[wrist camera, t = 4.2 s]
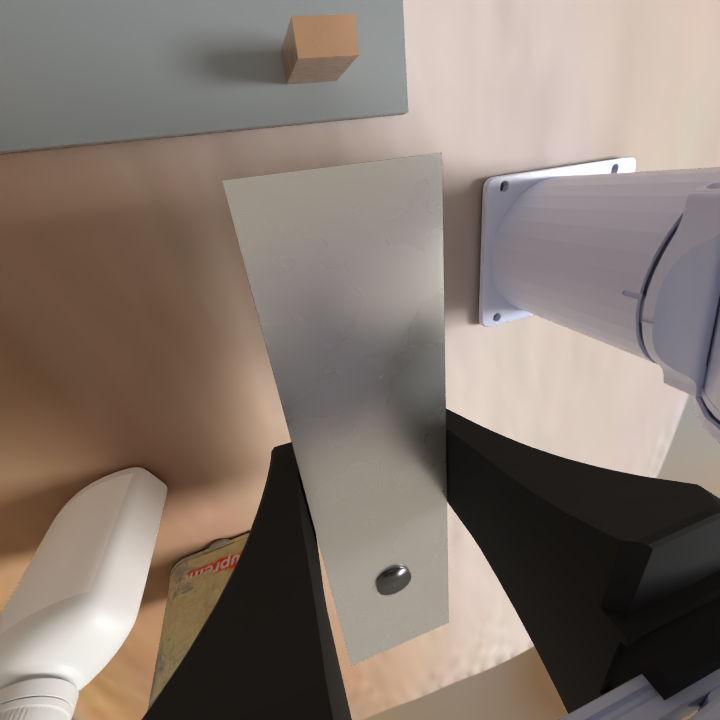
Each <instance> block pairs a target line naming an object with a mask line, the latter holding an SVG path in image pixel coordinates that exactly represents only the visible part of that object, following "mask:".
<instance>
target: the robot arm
mask: <svg viewBox="0 0 720 720" xmlns="http://www.w3.org/2000/svg"><path fill="white" fill-rule="evenodd" d="M635 166H636V161H635V159H634V158H633V157H623V158H616V159H610V160H603V161H596V162H589V163H583V164H576V165H569V166H562V167H556V168H549V169H542V170H535V171H529V172H522V173H515V174H508V175H502V176H495V177H491V178H488V179H487V180H486V182H485V183H484V186H483V202H482V233H481V264H480V295H479V322H480V324H481V325H483V326H485V327H490V326H493V325H497V324H501V323H505V322H509V321H513V320H517V319H521V318H525V317H529V316H533V315H537V316H539V317H542V318H544V319H547V320H549V321H552V322H554V323H557V324H559V325H562V326H564V327H567V328H569V329H572V330H574V331H577V332H579V333H582V334H584V335H587V336H589V337H592V338H594V339H597V340H599V341H602V342H604V343H607V344H609V345H612V346H614V347H616V348H619V349H621V350H624V351H626V352H629V353H631V354H634V355H636V356H639V357H641V358H644V359H646V360H649V361H651V362H654V363H656V364H658V365H659V366H661V368H662V370H663V373H664V383H665V384H668V385H670V386H672V387H674V388H677V389H679V390H681V391H683V392H686V393H688V394H690V395H693V396H694V408H695V411H696V414H697V417H698V419H699V421H700V422H701V424H702V425H703V427H704V428H705V429H706V430H707V431H708V432H709V433H710V435H712V437H713V438H715V439H716V440H717V441H718V442H720V167H715V168H698V169H680V170H663V171H645V172H634V171H635ZM611 168H612V171H611ZM502 182H503V183H504V187H503V190H502V191H501V190H500V185H501V183H502ZM495 314H497V315H496V317H495V318H494V319H493V317H494V315H495ZM446 468H447V502H448V503H449V505H450V506H451V507H452V509H453V510H454V512H455V513H456V514H457V516H458V517H459V518H460V520H461V521H462V523H463V524H464V525H465V527H466V528H467V530H468V531H469V532H470V534H471V535H472V537H473V538H474V540H475V541H476V543H477V544H478V546H479V547H480V549H481V551H482V552H483V554H484V556H485V557H486V559H487V561H488V562H489V564H490V566H491V568H492V569H493V571H494V573H495V574H496V576H497V578H498V580H499V581H500V583H501V585H502V587H503V589H504V590H505V592H506V594H507V596H508V598H509V599H510V601H511V603H512V605H513V606H514V608H515V610H516V612H517V614H518V616H519V618H520V619H521V621H522V623H523V625H524V627H525V629H526V631H527V633H528V634H529V636H530V638H531V640H532V642H533V644H534V646H535V648H536V650H537V652H538V653H539V655H540V657H541V659H542V661H543V663H544V665H545V667H546V669H547V671H548V673H549V675H550V677H551V679H552V681H553V683H554V685H555V687H556V689H557V691H558V693H559V695H560V697H561V699H562V701H563V704H564V706H565V707H566V710H567V712H568V715H566V716H564V717H562V718H561V719H559V720H681V719H683V718H684V717H686V716H687V715H689V714H691V713H693V712H694V711H696V710H697V709H698V712H697V713H696V714H695V715H693V716H692V717H691V718H690V719H688V720H720V498H718V497H716V496H714V495H713V494H712V493H710V492H709V491H707V490H705V489H704V488H702V487H701V486H699V485H697V484H690V483H683V482H677V481H670V480H663V479H656V478H650V477H644V476H638V475H633V474H628V473H623V472H618V471H613V470H609V469H605V468H600V467H596V466H592V465H588V464H585V463H581V462H577V461H573V460H570V459H566V458H563V457H559V456H556V455H553V454H550V453H547V452H544V451H541V450H538V449H535V448H532V447H530V446H527V445H524V444H522V443H519V442H517V441H514V440H512V439H509V438H507V437H505V436H502V435H500V434H498V433H495V432H493V431H491V430H489V429H486V428H484V427H482V426H480V425H478V424H476V423H474V422H472V421H470V420H468V419H466V418H464V417H462V416H460V415H458V414H456V413H454V412H452V411H450V410H448V409H446ZM142 720H352V719H351V715H350V710H349V706H348V701H347V697H346V693H345V688H344V684H343V679H342V675H341V670H340V666H339V662H338V657H337V653H336V648H335V644H334V639H333V635H332V630H331V626H330V621H329V617H328V612H327V607H326V602H325V596H324V590H323V582H322V575H321V568H320V560H319V553H318V546H317V538H316V532H315V528H314V524H313V520H312V517H311V513H310V509H309V505H308V502H307V498H306V494H305V490H304V487H303V483H302V479H301V475H300V472H299V468H298V464H297V460H296V457H295V453H294V449H293V445H292V442H291V443H287V444H284V445H280V446H277V447H274V449H273V450H272V453H271V462H270V467H269V472H268V477H267V481H266V485H265V488H264V492H263V495H262V499H261V502H260V505H259V508H258V511H257V514H256V517H255V520H254V522H253V525H252V528H251V531H250V533H249V536H248V538H247V541H246V543H245V546H244V548H243V550H242V552H241V555H240V557H239V559H238V561H237V563H236V566H235V568H234V570H233V572H232V574H231V576H230V578H229V580H228V582H227V584H226V586H225V588H224V590H223V592H222V593H221V595H220V597H219V599H218V601H217V603H216V605H215V606H214V608H213V610H212V612H211V613H210V615H209V617H208V618H207V620H206V622H205V623H204V625H203V627H202V628H201V630H200V632H199V633H198V635H197V637H196V638H195V640H194V642H193V644H192V645H191V647H190V649H189V650H188V652H187V653H186V655H185V656H184V658H183V660H182V661H181V663H180V664H179V666H178V667H177V669H176V670H175V672H174V673H173V675H172V676H171V678H170V679H169V680H168V682H167V683H166V685H165V686H164V688H163V689H162V691H161V692H160V694H159V695H158V697H157V698H156V700H155V701H154V703H153V704H152V706H151V707H150V708H149V710H148V711H147V713H146V714H145V716H144V717H143V719H142Z"/></svg>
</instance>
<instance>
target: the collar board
mask: <svg viewBox="0 0 720 720" xmlns="http://www.w3.org/2000/svg"><path fill="white" fill-rule="evenodd" d="M407 112H408V99H407V79H406V59H405V38H404V18H403V0H0V154H5V153H15V152H25V151H35V150H45V149H56V148H66V147H76V146H86V145H96V144H107V143H117V142H127V141H137V140H147V139H158V138H168V137H178V136H188V135H198V134H209V133H219V132H229V131H239V130H249V129H259V128H270V127H280V126H290V125H300V124H310V123H321V122H331V121H341V120H351V119H361V118H372V117H382V116H392V115H402V114H405V113H407Z"/></svg>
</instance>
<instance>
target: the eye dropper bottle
mask: <svg viewBox="0 0 720 720" xmlns="http://www.w3.org/2000/svg"><path fill="white" fill-rule="evenodd" d="M166 496H167V487H166V485H165V484H164V483H163V482H162V481H161V480H159V479H158V478H157V477H155V476H154V475H153V474H151V473H150V472H148V471H147V470H146V469H143V468H141V467H133V468H128V469H124V470H121V471H118V472H115V473H112V474H109V475H107V476H105V477H102V478H100V479H98V480H96V481H95V482H93V483H91V484H89V485H88V486H86V487H85V488H83V489H82V490H81V491H79V492H78V493H77V494H76V495H74V496H73V497H72V498H71V499H70V500H69V501H68V502H67V503H66V504H65V506H64V507H63V508H62V509H61V510H60V512H59V513H58V514H57V516H56V517H55V519H54V521H53V522H52V524H51V526H50V527H49V529H48V531H47V533H46V534H45V536H44V538H43V540H42V542H41V543H40V545H39V547H38V549H37V550H36V552H35V554H34V556H33V558H32V559H31V561H30V563H29V565H28V566H27V568H26V570H25V572H24V574H23V575H22V577H21V579H20V581H19V582H18V584H17V586H16V588H15V590H14V591H13V593H12V595H11V597H10V599H9V600H8V602H7V604H6V606H5V607H4V609H3V611H2V613H1V615H0V720H71V718H72V715H73V712H74V709H75V706H76V702H77V699H78V696H79V691H80V690H81V689H82V688H83V687H84V686H86V685H87V684H88V683H89V682H90V681H91V680H92V679H93V678H94V677H95V676H96V675H97V674H98V673H99V672H100V671H101V670H102V669H103V668H104V667H105V666H106V664H107V663H108V662H109V661H110V660H111V658H112V657H113V656H114V655H115V654H116V652H117V651H118V649H119V648H120V647H121V645H122V644H123V642H124V641H125V639H126V638H127V636H128V635H129V633H130V631H131V629H132V627H133V625H134V623H135V620H136V617H137V615H138V611H139V607H140V603H141V600H142V596H143V592H144V588H145V584H146V580H147V576H148V572H149V567H150V563H151V559H152V555H153V551H154V547H155V543H156V538H157V534H158V530H159V526H160V521H161V517H162V513H163V509H164V504H165V500H166Z"/></svg>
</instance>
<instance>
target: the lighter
mask: <svg viewBox="0 0 720 720" xmlns="http://www.w3.org/2000/svg"><path fill="white" fill-rule="evenodd" d="M248 536H249V533H247V534H245V535H242V536H240V537H237V538H234V539H232V540H229V539H222V540H218V541H216V542H214V543H212V544H211V545H210V546H209V548H208V549H206V550H204V551H201V552H198V553H196V554H193V555H191V556H188V557H186V558H184V559H182V560H180V561H179V562H178V563H177V564H176V565H175V566H174V567H173V568H172V570H171V572H170V577H169V582H170V585H169V591H168V597H167V602H166V608H165V614H164V620H163V626H162V631H161V637H160V643H159V649H158V655H157V660H156V666H155V672H154V678H153V683H152V689H151V695H150V701H149V707H148V710H149V708H150V707H151V706H152V704H153V703H154V701H155V700H156V698H157V697H158V695H159V694H160V692H161V691H162V689H163V688H164V686H165V685H166V683H167V682H168V680H169V679H170V678H171V676H172V675H173V673H174V672H175V670H176V669H177V667H178V666H179V664H180V663H181V661H182V660H183V658H184V656H185V655H186V653H187V652H188V650H189V649H190V647H191V645H192V644H193V642H194V640H195V638H196V637H197V635H198V633H199V632H200V630H201V628H202V627H203V625H204V623H205V622H206V620H207V618H208V617H209V615H210V613H211V612H212V610H213V608H214V606H215V605H216V603H217V601H218V599H219V597H220V595H221V593H222V592H223V590H224V588H225V586H226V584H227V582H228V580H229V578H230V576H231V574H232V572H233V570H234V568H235V566H236V563H237V561H238V559H239V557H240V555H241V552H242V550H243V548H244V546H245V543H246V541H247V538H248Z"/></svg>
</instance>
